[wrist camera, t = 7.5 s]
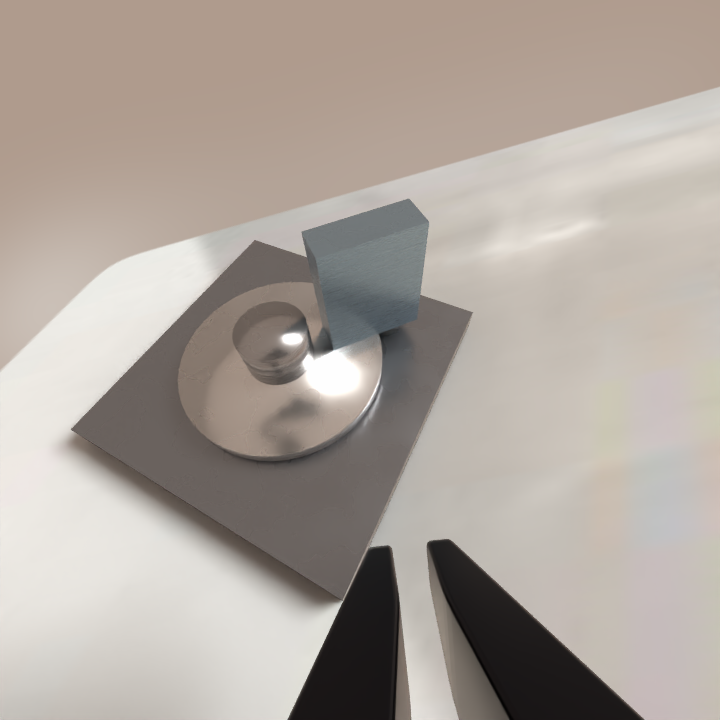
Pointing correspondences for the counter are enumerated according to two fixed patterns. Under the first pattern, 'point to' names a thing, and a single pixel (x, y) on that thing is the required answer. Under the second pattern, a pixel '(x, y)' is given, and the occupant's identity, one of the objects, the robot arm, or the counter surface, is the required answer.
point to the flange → (307, 340)
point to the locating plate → (294, 476)
